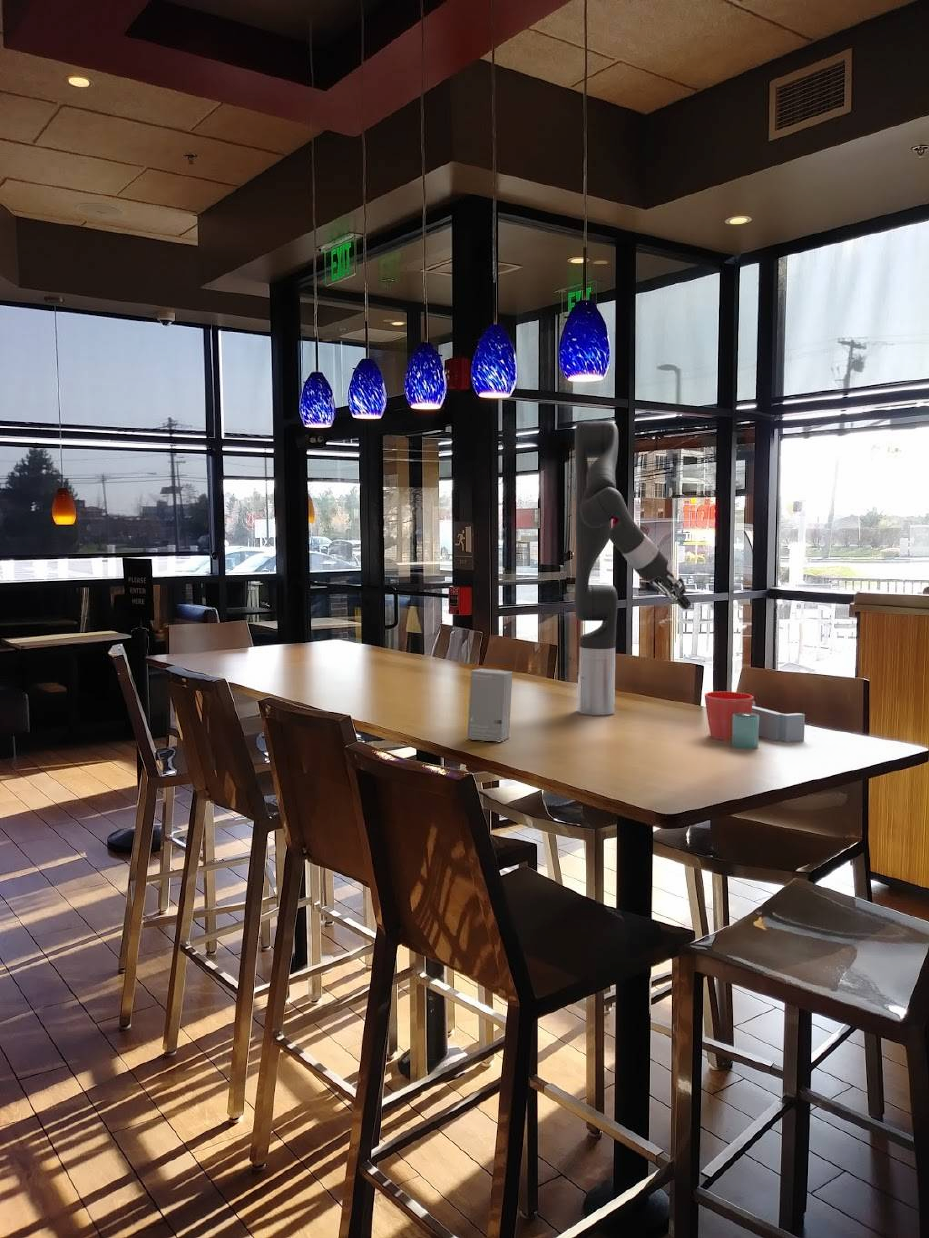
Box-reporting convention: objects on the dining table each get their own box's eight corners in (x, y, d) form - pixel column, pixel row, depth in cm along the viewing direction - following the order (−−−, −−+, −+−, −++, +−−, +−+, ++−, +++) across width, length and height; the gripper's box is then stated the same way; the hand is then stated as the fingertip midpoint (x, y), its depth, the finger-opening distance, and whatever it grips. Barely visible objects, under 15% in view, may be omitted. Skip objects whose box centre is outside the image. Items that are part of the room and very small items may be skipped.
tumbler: (735, 749, 219) (736, 716, 218) (728, 743, 224) (729, 712, 224) (761, 749, 219) (762, 716, 218) (753, 743, 224) (754, 712, 224)
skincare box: (467, 740, 226) (467, 671, 225) (477, 735, 233) (478, 667, 231) (502, 743, 223) (503, 673, 222) (512, 737, 230) (513, 669, 228)
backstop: (782, 742, 226) (783, 716, 225) (729, 726, 244) (729, 701, 244) (804, 740, 228) (804, 714, 227) (749, 724, 247) (750, 700, 246)
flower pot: (753, 742, 226) (755, 699, 225) (703, 739, 228) (704, 697, 228) (751, 733, 236) (752, 692, 235) (703, 731, 239) (704, 690, 238)
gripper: (669, 547, 235) (712, 597, 240) (640, 544, 247) (681, 593, 253) (648, 570, 234) (692, 620, 239) (620, 566, 246) (663, 614, 251)
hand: (686, 606), depth 246 cm, fingers closed
